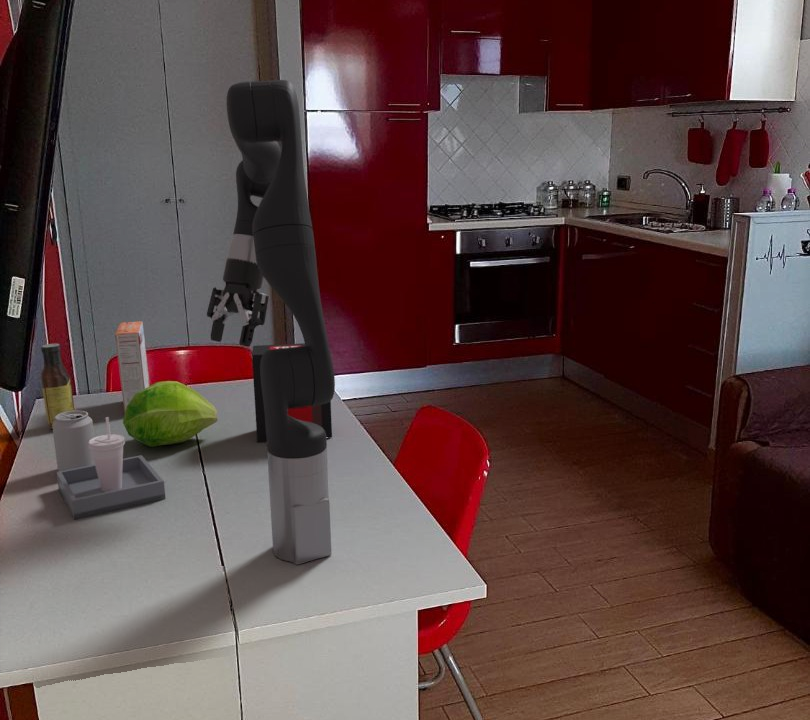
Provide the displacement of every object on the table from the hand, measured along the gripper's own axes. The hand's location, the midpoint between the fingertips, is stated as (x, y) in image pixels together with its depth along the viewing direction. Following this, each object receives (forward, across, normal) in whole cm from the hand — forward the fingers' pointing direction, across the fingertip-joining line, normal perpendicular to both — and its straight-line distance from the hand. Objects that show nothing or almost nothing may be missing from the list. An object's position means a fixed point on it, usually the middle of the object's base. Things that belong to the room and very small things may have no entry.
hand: (229, 343), depth 156 cm
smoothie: (+31, -12, -11) cm, 35 cm away
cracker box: (+19, -55, +22) cm, 62 cm away
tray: (+32, -12, -11) cm, 36 cm away
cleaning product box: (+17, -8, +31) cm, 36 cm away
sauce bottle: (+26, -56, +3) cm, 62 cm away
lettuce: (+23, -26, +12) cm, 37 cm away
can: (+31, -28, -9) cm, 42 cm away
